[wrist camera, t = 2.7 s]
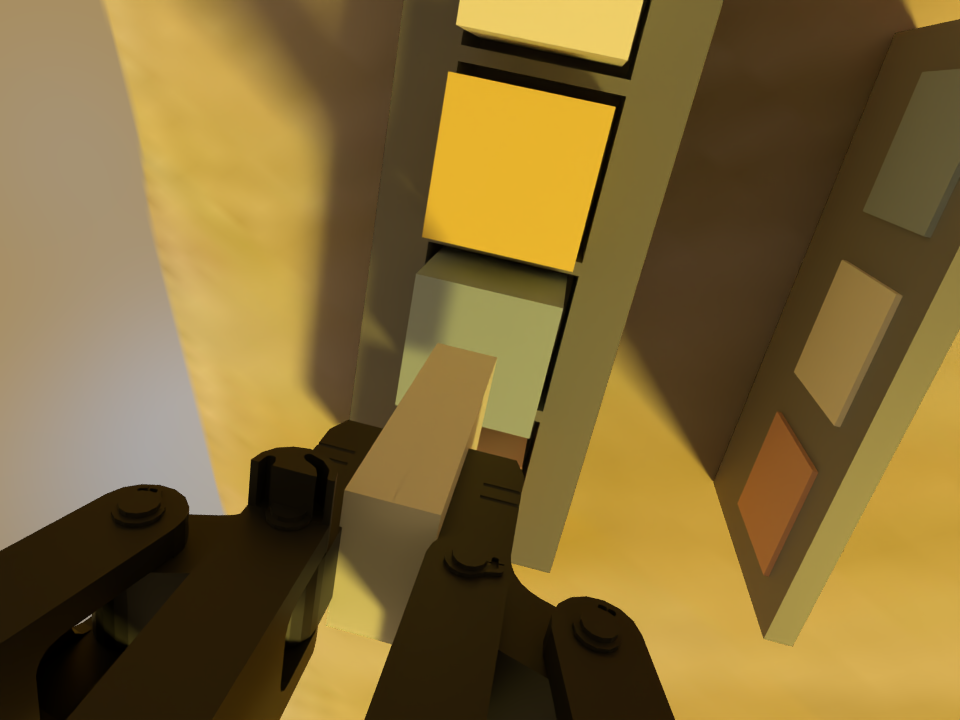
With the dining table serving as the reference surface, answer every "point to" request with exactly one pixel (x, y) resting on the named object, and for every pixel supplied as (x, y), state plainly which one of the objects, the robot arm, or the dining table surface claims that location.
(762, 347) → the dining table surface
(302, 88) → the dining table surface
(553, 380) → the frame
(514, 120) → the key mustard
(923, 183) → the placard
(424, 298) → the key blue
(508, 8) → the key ivory
